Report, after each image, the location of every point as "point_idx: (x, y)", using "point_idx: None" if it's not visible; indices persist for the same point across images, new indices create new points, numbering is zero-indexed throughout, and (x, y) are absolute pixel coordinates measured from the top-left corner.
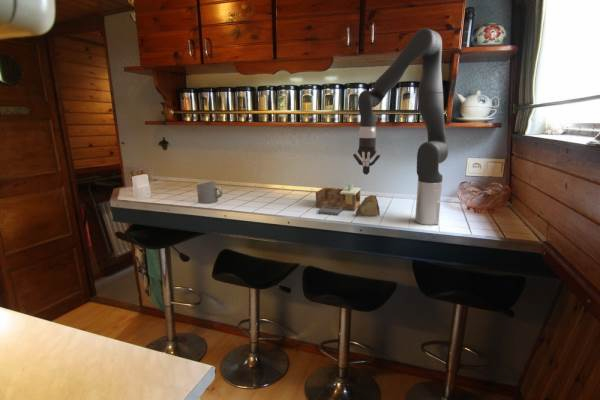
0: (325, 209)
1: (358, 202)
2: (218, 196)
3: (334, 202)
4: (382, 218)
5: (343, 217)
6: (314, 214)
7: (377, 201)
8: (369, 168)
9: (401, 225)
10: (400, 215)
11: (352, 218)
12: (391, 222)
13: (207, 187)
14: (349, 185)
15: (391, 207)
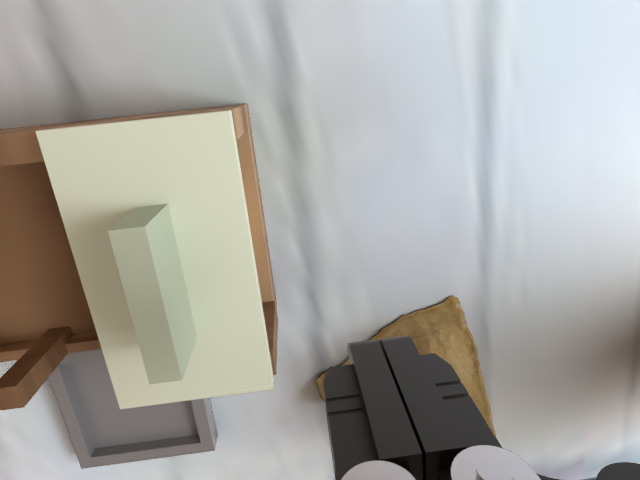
0: (87, 386)
1: (252, 172)
2: None
3: (65, 265)
4: (485, 369)
5: (267, 447)
6: (80, 472)
7: (488, 409)
8: (483, 430)
9: (592, 432)
10: (588, 263)
11: (322, 441)
12: (541, 411)
13: None
14: (169, 377)
15: (517, 72)
